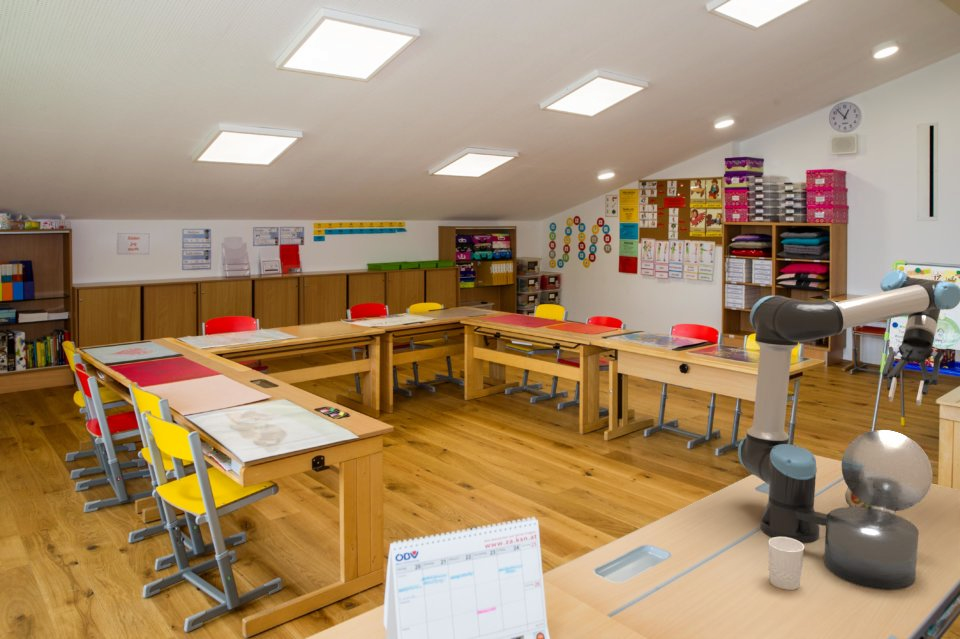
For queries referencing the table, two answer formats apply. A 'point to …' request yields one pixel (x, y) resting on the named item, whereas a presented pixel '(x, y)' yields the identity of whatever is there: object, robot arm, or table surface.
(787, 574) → the white cup
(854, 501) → the bird rattle
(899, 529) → the cooker pot
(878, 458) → the cooker lid
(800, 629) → the table surface
